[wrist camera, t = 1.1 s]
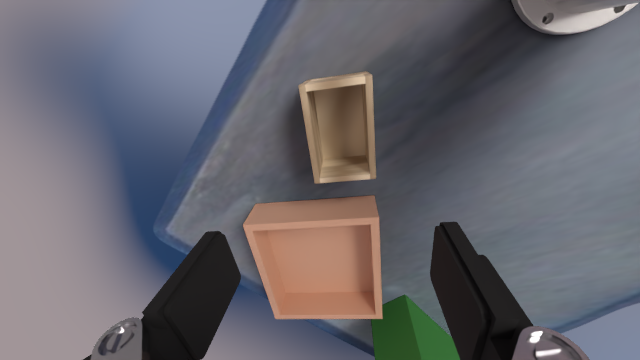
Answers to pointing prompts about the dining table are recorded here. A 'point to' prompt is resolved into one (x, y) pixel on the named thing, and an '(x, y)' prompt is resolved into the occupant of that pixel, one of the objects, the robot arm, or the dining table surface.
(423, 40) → the dining table surface
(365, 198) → the terracotta crate
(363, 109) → the pine crate
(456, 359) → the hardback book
